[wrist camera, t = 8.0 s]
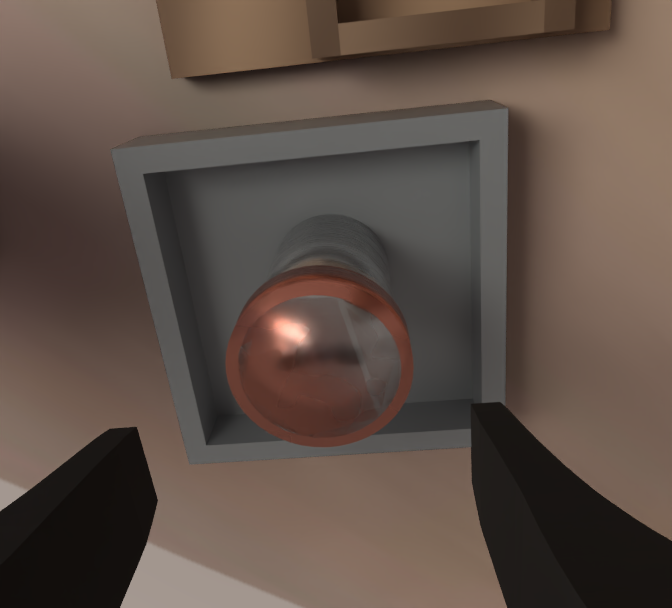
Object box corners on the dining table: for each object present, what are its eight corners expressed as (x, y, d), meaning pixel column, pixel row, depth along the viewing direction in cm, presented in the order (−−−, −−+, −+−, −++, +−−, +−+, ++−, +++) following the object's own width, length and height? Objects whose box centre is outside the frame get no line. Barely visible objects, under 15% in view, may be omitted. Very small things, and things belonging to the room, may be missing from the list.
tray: (205, 425, 25) (189, 464, 22) (138, 136, 20) (110, 149, 18) (491, 405, 24) (504, 445, 22) (490, 99, 19) (508, 108, 17)
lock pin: (272, 330, 22) (237, 449, 16) (259, 208, 20) (213, 286, 14) (397, 326, 22) (413, 445, 15) (396, 202, 20) (413, 279, 14)
